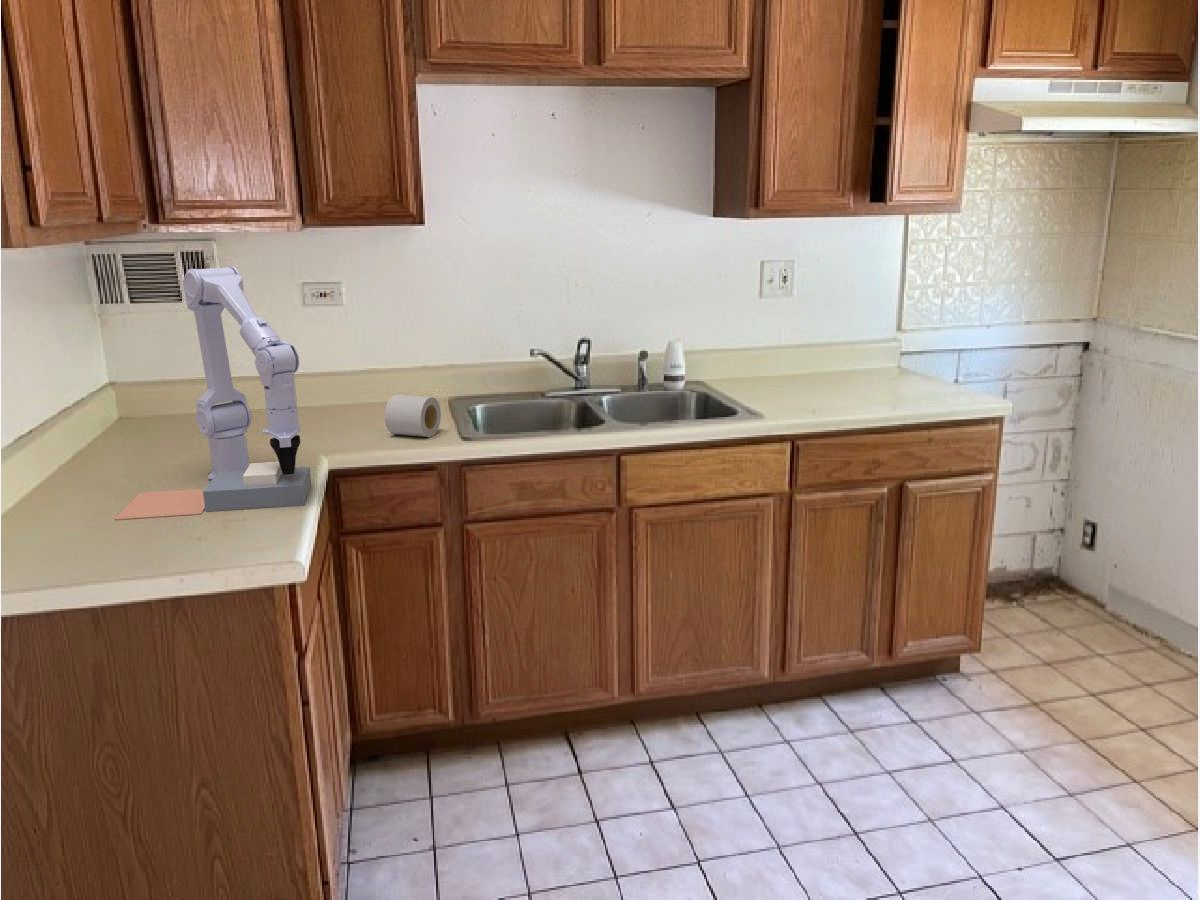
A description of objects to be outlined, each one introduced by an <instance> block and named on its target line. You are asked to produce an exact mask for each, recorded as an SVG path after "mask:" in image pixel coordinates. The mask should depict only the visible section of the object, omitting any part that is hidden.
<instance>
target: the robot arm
mask: <svg viewBox="0 0 1200 900" xmlns="http://www.w3.org/2000/svg"><path fill="white" fill-rule="evenodd" d="M239 271H240V270H238V269H237V268H236V267H235V266H231V265H230V266H227V267H211V268H197V269H196V268H189V269H188V270H187V271H186V273H185V275H184V277H183V279H182V287H183V291H184V296H185V302H186V307H187V309H188V310H189V311H192V312H193V313H194V318H195V325H196V331H197V336H198V343H199V348H200V352H201V353H200V354H201V359H202V364H203V370H204V376H205V382H206V389H207V390H206V391H205V392H204V393H203V394H201V396H200V397H199V398H198V399H197V400H196V401H195V404H196V405H195V407H196V414H195V415H196V416H195V419H196V426H197V428H198V430H199V431H200V433H202V434H203V436H205V437H207V438H208V445H209V446H208V447H209V455H210V462H211V463H210V464H211V470H212V471H211V472H210V474H209V475H208V476H207V480H212V479H213V477H214V476H215V474H216V473H217V472H227V471H244V470H247V469H248V467H249V465H250V464H251V463H252V462H250V458H249V449H248V441H247V437H246V435H245V433H247V432H248V428H249V427H250V426H251V423H252V420H253V417H252V415H253V414H252V409H250V406H249V404H248V401H247V398H246V394H244V393H243V392H241V391H239V390H237V389H236V388H234V385H233V384H234V383H233V379H232V372H231V367H230V366H231V365H230V359H229V355H228V349H227V343H226V336H225V331H224V325H223V319H222V313H223V311H224V309H226V310H227V312H228V313H229V314H230V315H231V316H232V317H233V319H234V320H235V321H236V322H237V323H238V324H239V325H240V330H239V335H240V337H241V338H242V340H243V341H244V343H246V345H247V347H248V348H249V349H250V351H251V353H252V354H253V355H254V357H255V360H254V365H255V369H256V371H257V373H258V375H259V380H260V381H259V382H260V383H261V385H262V386H263V389H264V390H263V391H264V399H265V401H264V402H265V408H266V409H265V410H266V411H265V412H266V418H267V419H266V420H267V427H268V428H263V429H262V431H261V432H262V435H264V436H265V435H268V436H270V437H272V438H270V440H269V445H270V447H271V449H272V450H273V451H274V453H275V455H276V457H277V459H278V460H277V462H279V464H280V468H281V471H282V473H283V475H288V474H294V471H295V468H296V458H297V453H298V450H299V446H300V444H301V436H300V435H299V434H300V433H301V431H302V430H301V427H300V422H299V414H298V413H299V410H298V403H297V391H296V389H297V388H296V380H295V373H297V372H298V369H299V367H300V359H299V358H300V357H299V354H298V351H297V349H296V347H295V346H294V344H293V343H290V342H287V341H286V340H282V339H281V338H280V337H279V336H278V334H277V332H276V331H275V330H274V329H273V327H272V325H270V323H269V322H268V320H267V319H266V318H264V317H261V316H258V315H257V314H256V312H255V311H254V309H253V307H252V305H251V304H250V302H249V300H248V298H247V296H246V295H245V293H244V280H243V277H242V274H241V273H240V272H239Z"/></svg>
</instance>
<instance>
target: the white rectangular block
mask: <svg viewBox="0 0 1200 900" xmlns="http://www.w3.org/2000/svg"><path fill="white" fill-rule="evenodd" d="M250 463H251V464H250V465H249V467H248V469H247V470H246V472H245V473H244V475H243V483H244V486H254V485H270V484H277V482H278V480H279V478H280V476H281V474H282V471H281V468H280V464H279V461H267V462H250Z"/></svg>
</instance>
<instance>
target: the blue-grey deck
mask: <svg viewBox="0 0 1200 900" xmlns="http://www.w3.org/2000/svg"><path fill="white" fill-rule="evenodd" d="M310 468H311V467H310V466H299V467H298V466H297V467H296V466H295V471H294V474H288V475H283V473H282V474H281V476H280V478H279V480H278V482H277V484H270V485H254V486H244V483H243V475H244V473H245V472H246V470H244V471H227V472H217V473H216V474H215V476H214V477H213V479H210V481H209V483H208V484H207V485H206V487H205V488H204V489H205V490H204V491H203V496H204V504H205V509H204V511H205V512H206V513H207V512H218V511H219V512H220V511H235V510H251V509H264V508H280V507H294V506H295V507H296V506H305V503H306V500H307V498H308V495H309V493H310V490H311V488H312V479H311V478H312V477H311V476H312V475H311V469H310Z"/></svg>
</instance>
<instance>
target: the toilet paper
mask: <svg viewBox="0 0 1200 900" xmlns="http://www.w3.org/2000/svg"><path fill="white" fill-rule="evenodd" d="M441 415H442V413H441V407H440V404H439V401H438V400H437V399H436V397H434V396H433V397H432V396H424V395H423V396H420V395H406V394H394V395H392V396H390V397H389V399H388V401H387V403H386V406H385V410H384V421H385V422H384V423H385V426H386V428H387V429H386V430H388V432H389V433H390V434H392V435H400V436H411V437H413V436H414V437H424V438H432V437H434V436H433V435H436V434H437V432H438V430H439V428H440V424H441ZM431 436H432V437H431Z"/></svg>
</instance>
